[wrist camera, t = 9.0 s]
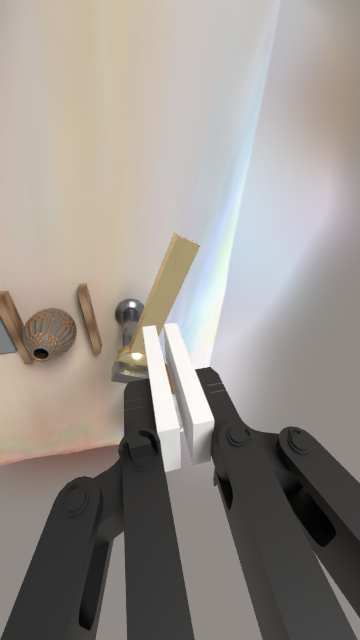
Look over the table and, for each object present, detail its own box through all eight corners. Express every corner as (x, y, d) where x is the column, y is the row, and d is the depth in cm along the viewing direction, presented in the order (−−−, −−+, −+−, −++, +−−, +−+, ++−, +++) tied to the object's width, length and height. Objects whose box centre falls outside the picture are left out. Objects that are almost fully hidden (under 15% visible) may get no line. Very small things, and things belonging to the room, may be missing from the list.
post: (113, 300, 37) (110, 344, 27) (143, 297, 38) (151, 338, 28) (118, 326, 40) (116, 374, 30) (146, 322, 41) (154, 368, 31)
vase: (56, 344, 39) (41, 381, 32) (22, 317, 36) (-4, 351, 28) (88, 324, 39) (80, 356, 31) (57, 294, 35) (39, 323, 28)
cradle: (0, 291, 33) (-8, 298, 31) (86, 283, 35) (84, 289, 33) (30, 354, 39) (25, 364, 37) (101, 344, 41) (100, 353, 39)
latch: (205, 246, 23) (219, 256, 20) (146, 373, 31) (149, 396, 27) (161, 226, 22) (169, 234, 18) (109, 367, 29) (107, 391, 25)
